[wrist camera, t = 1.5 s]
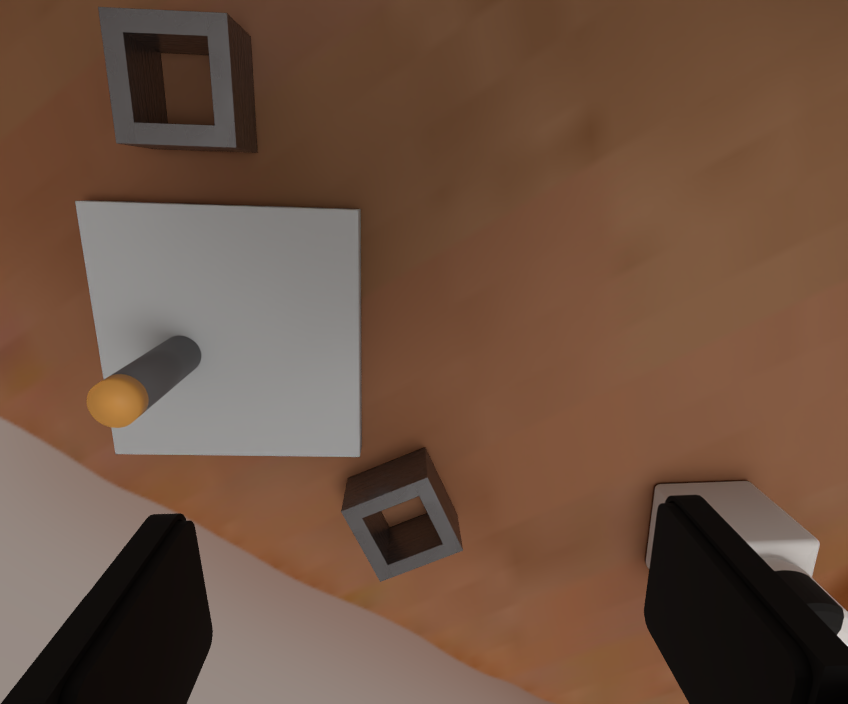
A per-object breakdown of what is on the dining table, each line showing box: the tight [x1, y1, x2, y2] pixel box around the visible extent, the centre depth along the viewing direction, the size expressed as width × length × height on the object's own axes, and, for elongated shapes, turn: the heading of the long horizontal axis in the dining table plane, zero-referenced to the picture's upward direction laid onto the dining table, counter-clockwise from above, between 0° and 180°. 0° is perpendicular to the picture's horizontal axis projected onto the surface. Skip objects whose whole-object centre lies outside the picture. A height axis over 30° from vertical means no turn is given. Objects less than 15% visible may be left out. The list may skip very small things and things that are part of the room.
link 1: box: [98, 7, 257, 153], centre depth 28 cm, size 6×6×4 cm
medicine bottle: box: [646, 481, 848, 646], centre depth 34 cm, size 7×7×12 cm
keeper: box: [75, 200, 362, 457], centre depth 29 cm, size 16×16×10 cm
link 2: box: [341, 448, 463, 582], centre depth 36 cm, size 6×6×4 cm
